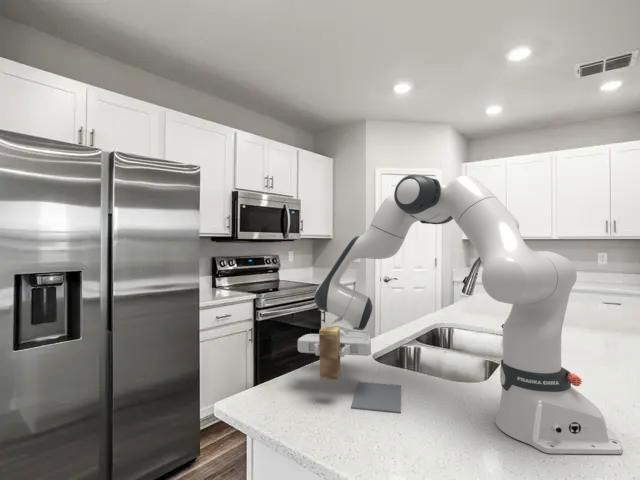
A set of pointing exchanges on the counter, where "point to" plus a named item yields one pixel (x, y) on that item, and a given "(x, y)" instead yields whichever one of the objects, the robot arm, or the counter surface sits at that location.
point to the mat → (377, 397)
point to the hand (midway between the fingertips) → (329, 353)
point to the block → (329, 352)
